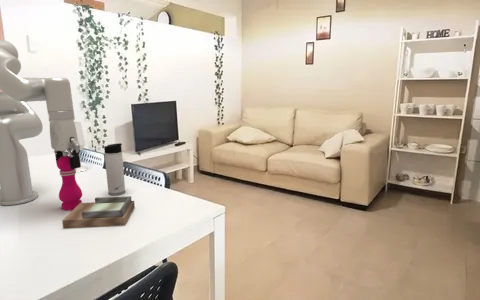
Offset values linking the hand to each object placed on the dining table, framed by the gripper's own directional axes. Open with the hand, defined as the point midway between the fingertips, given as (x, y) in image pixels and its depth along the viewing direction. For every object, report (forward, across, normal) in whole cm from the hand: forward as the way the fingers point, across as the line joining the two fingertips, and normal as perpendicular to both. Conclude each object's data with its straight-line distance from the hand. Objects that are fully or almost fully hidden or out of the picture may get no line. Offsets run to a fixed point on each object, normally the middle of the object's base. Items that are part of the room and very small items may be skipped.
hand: (68, 166), depth 108 cm
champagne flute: (+14, -45, +25) cm, 54 cm away
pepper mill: (+15, -1, 0) cm, 15 cm away
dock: (+15, +15, +1) cm, 22 cm away
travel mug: (+15, -1, +17) cm, 23 cm away
